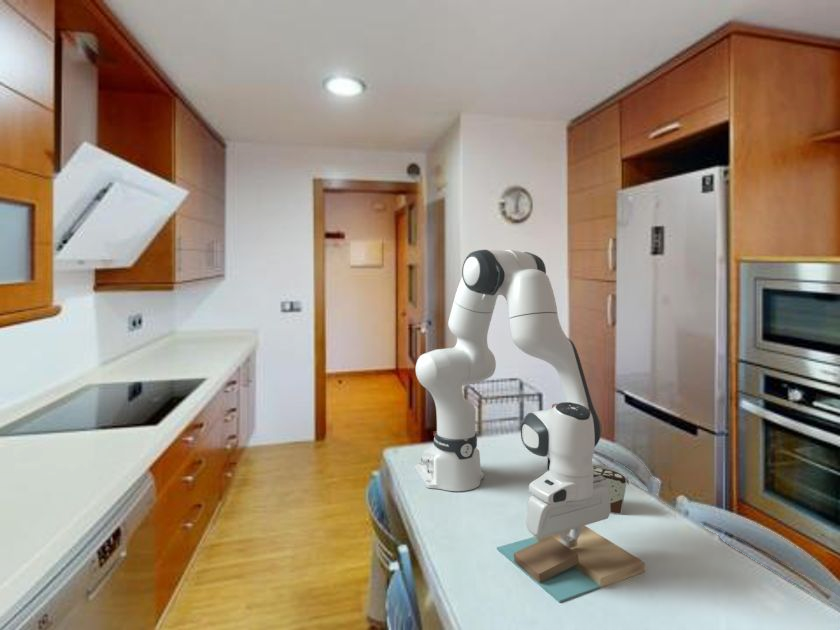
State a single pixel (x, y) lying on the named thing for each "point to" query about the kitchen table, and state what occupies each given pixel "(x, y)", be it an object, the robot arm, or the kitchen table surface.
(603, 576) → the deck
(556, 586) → the mat
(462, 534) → the kitchen table surface
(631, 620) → the kitchen table surface
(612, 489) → the cake slice
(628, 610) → the kitchen table surface
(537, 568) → the tile
